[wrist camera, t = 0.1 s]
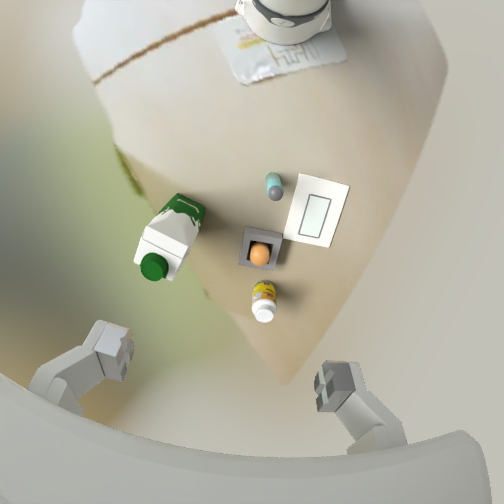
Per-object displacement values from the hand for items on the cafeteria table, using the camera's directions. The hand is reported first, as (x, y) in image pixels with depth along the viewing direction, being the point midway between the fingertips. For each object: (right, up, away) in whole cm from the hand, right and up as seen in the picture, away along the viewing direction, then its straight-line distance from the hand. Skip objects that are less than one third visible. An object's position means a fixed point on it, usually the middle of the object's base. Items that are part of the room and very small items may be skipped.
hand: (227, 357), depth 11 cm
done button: (+3, +5, +50) cm, 50 cm away
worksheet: (+15, +13, +47) cm, 51 cm away
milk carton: (-14, +13, +48) cm, 52 cm away
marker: (+5, +19, +44) cm, 48 cm away
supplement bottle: (+4, -5, +58) cm, 58 cm away
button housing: (+3, +6, +52) cm, 52 cm away
